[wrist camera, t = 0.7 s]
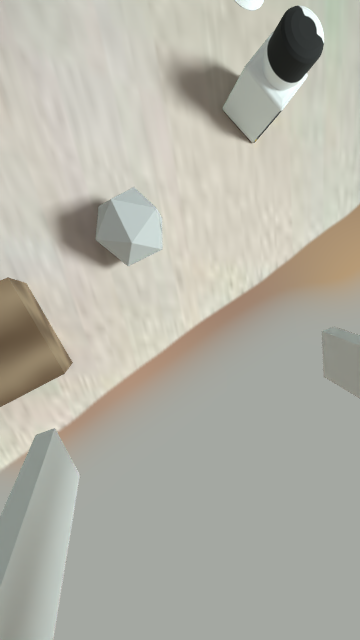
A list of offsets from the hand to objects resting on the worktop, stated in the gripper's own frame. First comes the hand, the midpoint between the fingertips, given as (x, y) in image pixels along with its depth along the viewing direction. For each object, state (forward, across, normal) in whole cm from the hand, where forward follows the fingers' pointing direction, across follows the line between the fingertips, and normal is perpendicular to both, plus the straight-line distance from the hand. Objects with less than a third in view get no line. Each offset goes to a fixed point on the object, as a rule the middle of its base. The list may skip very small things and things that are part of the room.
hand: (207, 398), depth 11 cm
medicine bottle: (+33, +25, +23) cm, 47 cm away
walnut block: (+24, -19, 0) cm, 31 cm away
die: (+28, 0, +9) cm, 29 cm away
